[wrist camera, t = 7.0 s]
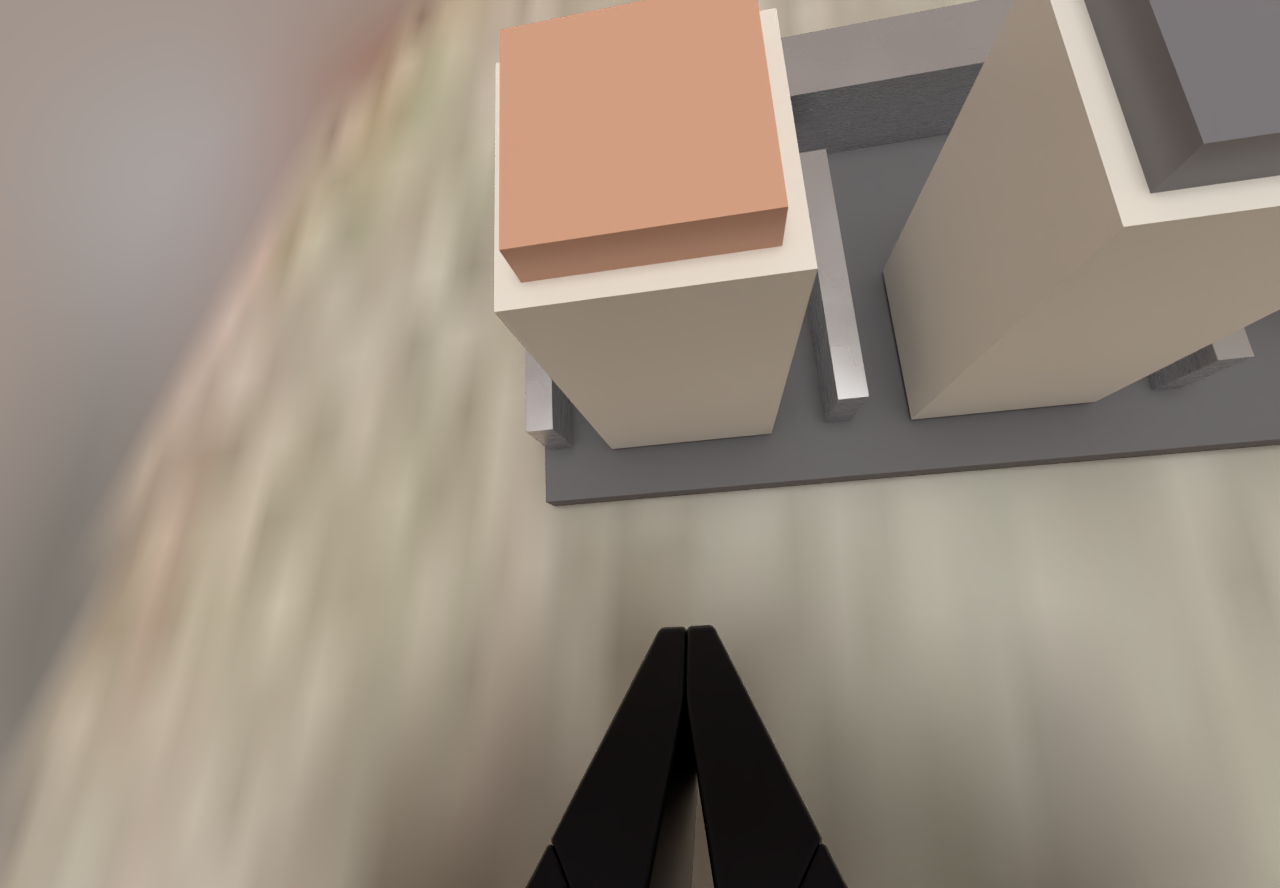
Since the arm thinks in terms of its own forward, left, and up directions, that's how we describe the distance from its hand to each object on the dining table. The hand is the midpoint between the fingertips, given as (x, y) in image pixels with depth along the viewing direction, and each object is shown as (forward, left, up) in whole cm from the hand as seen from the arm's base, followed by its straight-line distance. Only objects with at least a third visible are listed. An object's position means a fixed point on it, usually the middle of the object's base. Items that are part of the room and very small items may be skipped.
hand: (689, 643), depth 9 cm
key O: (+5, +5, -7) cm, 10 cm away
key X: (+11, -1, -7) cm, 12 cm away
